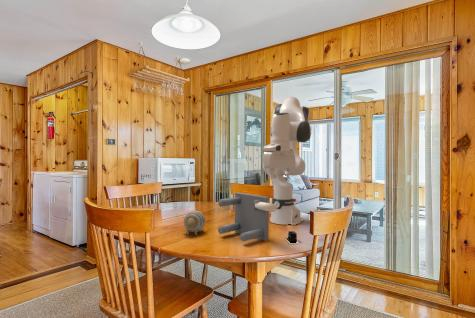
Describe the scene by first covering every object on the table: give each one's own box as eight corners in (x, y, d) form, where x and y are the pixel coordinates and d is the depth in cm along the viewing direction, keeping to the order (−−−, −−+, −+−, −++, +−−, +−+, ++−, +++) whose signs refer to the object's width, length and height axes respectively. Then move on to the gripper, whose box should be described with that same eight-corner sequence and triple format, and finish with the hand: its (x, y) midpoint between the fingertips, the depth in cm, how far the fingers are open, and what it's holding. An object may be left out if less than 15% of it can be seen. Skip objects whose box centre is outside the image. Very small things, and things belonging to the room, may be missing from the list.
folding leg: (252, 209, 125) (252, 200, 124) (257, 208, 127) (257, 199, 127) (271, 213, 117) (271, 203, 117) (276, 212, 119) (276, 202, 119)
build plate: (281, 238, 132) (281, 228, 132) (296, 237, 132) (296, 228, 132) (288, 246, 119) (288, 236, 119) (304, 246, 120) (304, 236, 120)
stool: (238, 230, 141) (238, 192, 141) (268, 239, 127) (269, 197, 127) (216, 236, 131) (217, 195, 131) (247, 246, 117) (247, 200, 116)
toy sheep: (179, 237, 129) (179, 213, 129) (189, 227, 145) (189, 207, 145) (201, 238, 128) (201, 214, 128) (208, 228, 145) (208, 207, 144)
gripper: (288, 148, 133) (287, 176, 133) (260, 147, 119) (260, 178, 119) (299, 148, 128) (298, 177, 129) (272, 146, 114) (271, 179, 114)
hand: (279, 178), depth 124 cm, fingers open, 8 cm apart
